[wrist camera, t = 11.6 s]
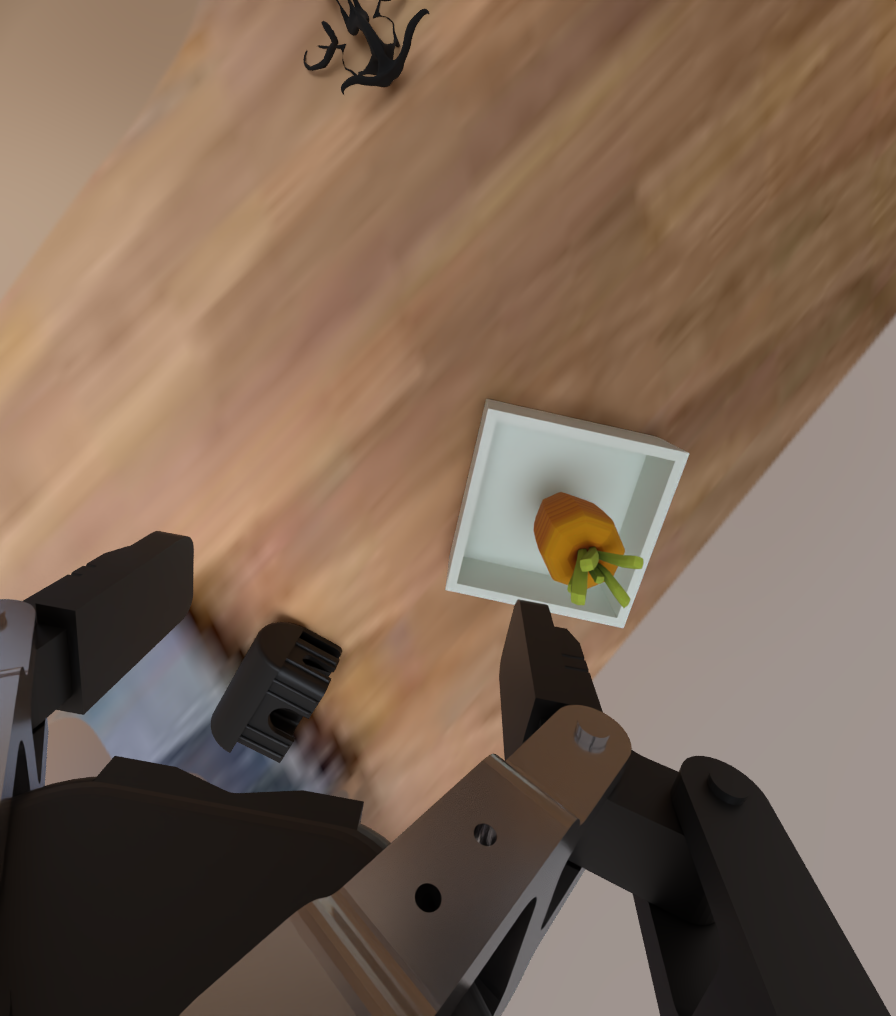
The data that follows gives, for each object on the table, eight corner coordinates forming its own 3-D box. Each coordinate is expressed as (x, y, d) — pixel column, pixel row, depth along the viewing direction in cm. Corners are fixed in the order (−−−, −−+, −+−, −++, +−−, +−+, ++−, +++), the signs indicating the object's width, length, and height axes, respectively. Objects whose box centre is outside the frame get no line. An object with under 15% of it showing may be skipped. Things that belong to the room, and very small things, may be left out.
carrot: (585, 470, 38) (657, 536, 24) (584, 531, 40) (652, 628, 25) (520, 474, 38) (553, 541, 24) (521, 534, 40) (553, 632, 25)
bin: (486, 398, 38) (488, 408, 32) (657, 436, 38) (689, 453, 32) (449, 556, 42) (445, 589, 36) (603, 589, 42) (623, 628, 37)
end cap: (277, 606, 45) (244, 651, 38) (346, 644, 45) (325, 693, 39) (233, 684, 48) (195, 737, 41) (299, 718, 48) (272, 775, 42)
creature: (289, 42, 32) (356, 145, 33) (240, -34, 27) (321, 89, 27) (383, -52, 31) (454, 57, 31) (351, -153, 25) (437, -21, 26)
